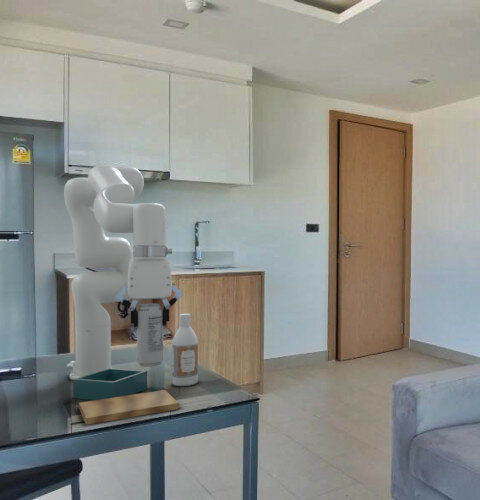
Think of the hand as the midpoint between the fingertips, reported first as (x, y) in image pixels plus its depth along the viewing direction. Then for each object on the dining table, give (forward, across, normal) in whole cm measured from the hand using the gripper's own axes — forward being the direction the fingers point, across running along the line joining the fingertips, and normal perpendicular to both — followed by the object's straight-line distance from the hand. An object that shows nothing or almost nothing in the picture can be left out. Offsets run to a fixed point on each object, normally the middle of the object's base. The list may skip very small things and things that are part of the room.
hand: (150, 324), depth 132 cm
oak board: (+20, +5, +1) cm, 21 cm away
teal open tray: (+20, +9, -16) cm, 27 cm away
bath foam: (+20, -10, -18) cm, 29 cm away
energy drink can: (+10, 0, 0) cm, 10 cm away
